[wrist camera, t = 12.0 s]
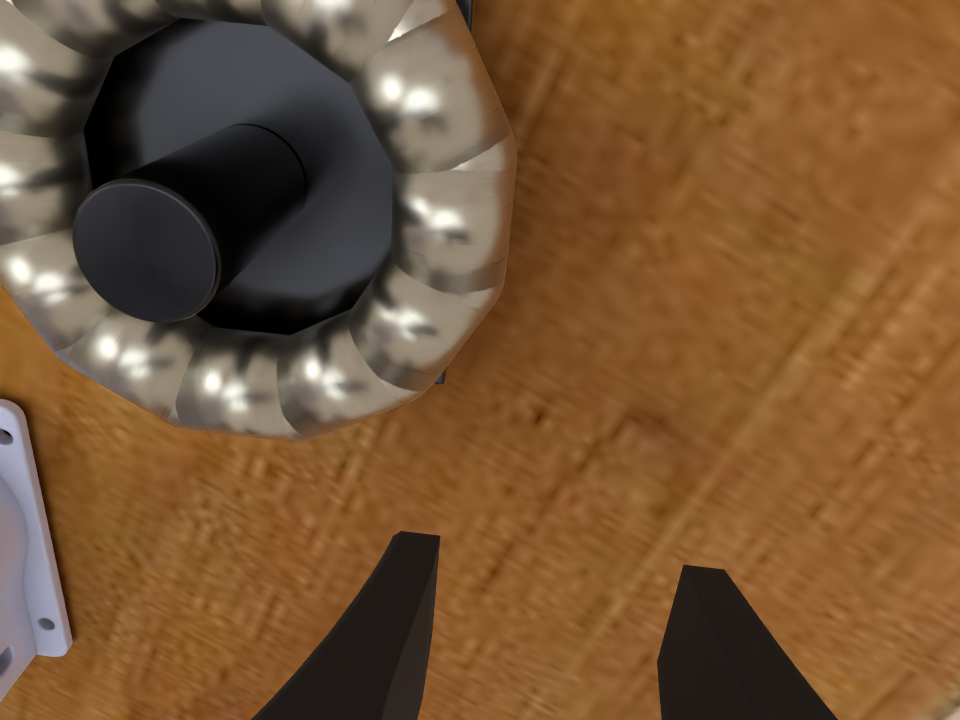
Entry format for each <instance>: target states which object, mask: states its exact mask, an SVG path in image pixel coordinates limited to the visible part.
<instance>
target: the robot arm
mask: <svg viewBox="0 0 960 720" xmlns="http://www.w3.org/2000/svg"><path fill="white" fill-rule="evenodd" d="M4 430H6V431H8V432H9V433H10V434H11V436H12V437H11V436H9V435H7V434H6V433H5V431H4ZM439 546H440V536H438V535H429V534H421V533H413V532H404V531H400V532H399V533H397V534H396V535H394V536H393V538H392V540H391V542H390V544H389V546H388V547H387V549H386V551H385V553H384V554H383V556H382V558H381V560H380V561H379V563H378V565H377V566H376V568H375V569H374V571H373V572H372V574H371V576H370V577H369V578H368V580H367V581H366V583H365V584H364V586H363V587H362V589H361V590H360V592H359V593H358V595H357V596H356V597H355V599H354V600H353V601H352V603H351V604H350V605H349V607H348V608H347V609H346V611H345V612H344V613H343V615H342V616H341V618H340V619H339V620H338V622H337V623H336V624H335V626H334V627H333V628H332V629H331V631H330V632H329V633H328V635H327V636H326V637H325V638H324V639H323V641H322V642H321V643H320V644H319V645H318V647H317V648H316V649H315V650H314V651H313V652H312V654H311V655H310V656H309V657H308V658H307V660H306V661H305V662H304V663H303V664H302V665H301V667H300V668H299V669H298V670H297V671H296V673H295V674H294V675H293V676H292V677H291V678H290V679H289V680H288V681H287V683H286V684H285V685H284V686H283V687H282V688H281V689H280V690H279V691H278V692H277V693H276V694H275V696H274V697H273V698H272V699H271V700H270V701H269V702H268V703H267V704H266V705H265V706H264V707H263V708H262V709H261V710H260V711H259V712H258V713H257V714H256V715H255V716H254V717H253V718H252V719H251V720H417V718H418V714H419V710H420V706H421V702H422V698H423V691H424V685H425V678H426V672H427V665H428V658H429V652H430V645H431V638H432V630H433V618H434V606H435V594H436V582H437V570H438V558H439ZM72 642H73V640H72V635H71V631H70V626H69V621H68V616H67V612H66V607H65V602H64V597H63V593H62V588H61V583H60V578H59V574H58V569H57V564H56V559H55V555H54V550H53V545H52V540H51V536H50V531H49V526H48V521H47V517H46V512H45V507H44V502H43V498H42V493H41V488H40V483H39V479H38V474H37V469H36V464H35V460H34V455H33V450H32V445H31V441H30V436H29V431H28V426H27V421H26V417H25V415H24V412H23V410H22V409H21V408H20V407H19V406H18V405H17V404H15V403H13V402H12V401H8V400H5V399H0V702H1V701H2V699H3V698H4V697H5V695H6V694H7V693H8V692H9V690H10V689H11V688H12V686H13V685H14V684H15V682H16V681H17V680H18V678H19V677H20V676H21V674H22V673H23V672H24V670H25V669H26V668H27V666H28V665H29V664H30V662H31V661H32V660H33V658H34V657H35V656H36V655H42V656H50V657H61V656H63V655H65V654H66V653H67V651H68V650H69V648H70V647H71V646H72ZM657 666H658V679H659V693H660V705H661V716H662V720H838V719H837V718H836V717H835V716H834V714H833V713H832V712H831V711H830V709H829V708H828V707H827V706H826V705H825V703H824V702H823V701H822V700H821V698H820V697H819V696H818V695H817V693H816V692H815V691H814V690H813V688H812V687H811V686H810V684H809V683H808V682H807V681H806V679H805V678H804V677H803V675H802V674H801V673H800V672H799V670H798V669H797V668H796V667H795V665H794V664H793V663H792V661H791V660H790V659H789V657H788V656H787V655H786V654H785V652H784V651H783V650H782V648H781V647H780V646H779V644H778V643H777V641H776V640H775V639H774V637H773V636H772V635H771V633H770V632H769V631H768V629H767V628H766V627H765V625H764V624H763V622H762V621H761V620H760V618H759V617H758V615H757V614H756V613H755V611H754V610H753V609H752V607H751V606H750V604H749V603H748V602H747V600H746V599H745V597H744V596H743V595H742V593H741V592H740V590H739V589H738V588H737V586H736V585H735V584H734V582H733V581H732V579H731V578H730V577H729V575H728V574H727V573H726V571H725V570H723V569H715V568H706V567H698V566H690V565H683V569H682V572H681V576H680V580H679V583H678V587H677V591H676V594H675V598H674V602H673V605H672V609H671V613H670V616H669V620H668V624H667V627H666V631H665V635H664V638H663V642H662V646H661V649H660V653H659V657H658V660H657Z"/></svg>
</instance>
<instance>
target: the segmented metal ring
mask: <svg viewBox="0 0 960 720" xmlns="http://www.w3.org/2000/svg"><path fill="white" fill-rule="evenodd" d="M180 18H189V19H200V20H210V21H221V22H231V23H241V24H252V25H262V26H269V27H271V28H272V29H274V30H275V31H276V32H278V33H279V34H281V35H282V36H283V37H285V38H286V39H288V40H289V41H290V42H292V43H293V44H295V45H296V46H297V47H299V48H300V49H302V50H303V51H304V52H306V53H307V54H309V55H310V56H311V57H313V58H314V59H316V60H317V61H318V62H320V63H321V64H323V65H324V66H325V67H327V68H328V69H330V70H331V71H332V72H334V73H335V74H337V75H338V76H339V77H341V78H342V79H344V80H345V81H346V82H348V83H349V84H350V86H351V88H352V90H353V91H354V93H355V95H356V97H357V99H358V101H359V103H360V105H361V107H362V109H363V111H364V113H365V115H366V117H367V119H368V121H369V123H370V125H371V127H372V129H373V131H374V133H375V135H376V137H377V139H378V141H379V142H380V144H381V146H382V148H383V150H384V152H385V154H386V156H387V158H388V160H389V162H390V164H391V166H392V168H393V198H392V229H391V252H390V253H389V255H388V256H387V258H386V259H385V261H384V262H383V264H382V265H381V267H380V268H379V270H378V271H377V273H376V274H375V276H374V277H373V279H372V280H371V282H370V283H369V285H368V286H367V288H366V289H365V290H364V292H363V293H362V295H361V296H360V298H359V299H358V301H357V302H356V304H355V305H354V307H353V308H352V309H350V310H348V311H346V312H343V313H341V314H339V315H336V316H334V317H332V318H329V319H327V320H325V321H322V322H320V323H318V324H315V325H313V326H311V327H308V328H306V329H304V330H301V331H299V332H297V333H294V334H292V335H283V334H273V333H264V332H255V331H245V330H236V329H227V328H218V327H215V326H213V325H212V324H210V323H208V322H207V321H205V320H204V319H202V318H200V317H199V316H197V315H193V316H191V317H189V318H187V319H184V320H180V321H176V322H166V323H158V322H149V321H144V320H140V319H137V318H134V317H131V316H129V315H126V314H125V313H123V312H121V311H119V310H117V309H116V308H114V307H113V306H111V305H110V304H108V303H107V302H106V301H105V300H104V299H103V298H101V297H100V296H99V295H98V294H97V293H96V292H95V290H94V289H93V288H92V287H91V285H90V284H89V283H88V281H87V280H86V278H85V277H84V275H83V273H82V271H81V269H80V267H79V265H78V262H77V260H76V257H75V253H74V248H73V240H72V234H73V225H74V220H75V217H76V214H77V211H78V209H79V207H80V206H81V204H82V202H83V201H84V200H85V198H86V197H87V196H88V195H89V194H90V193H91V192H92V191H93V186H92V180H91V173H90V166H89V159H88V152H87V146H86V139H85V132H84V127H85V124H86V122H87V120H88V117H89V115H90V113H91V110H92V108H93V106H94V103H95V101H96V99H97V96H98V94H99V92H100V89H101V87H102V85H103V82H104V80H105V78H106V75H107V73H108V71H109V68H110V66H111V64H112V61H113V59H114V56H116V55H118V54H120V53H121V52H123V51H125V50H127V49H128V48H130V47H132V46H133V45H135V44H137V43H139V42H140V41H142V40H144V39H146V38H147V37H149V36H151V35H153V34H154V33H156V32H158V31H159V30H161V29H163V28H165V27H166V26H168V25H170V24H172V23H173V22H175V21H177V20H179V19H180ZM517 159H518V150H517V144H516V140H515V136H514V133H513V131H512V127H511V125H510V123H509V121H508V118H507V116H506V114H505V111H504V109H503V107H502V104H501V102H500V100H499V98H498V95H497V93H496V91H495V88H494V86H493V84H492V82H491V79H490V77H489V75H488V72H487V70H486V68H485V66H484V63H483V61H482V59H481V56H480V54H479V52H478V50H477V47H476V45H475V43H474V40H473V38H472V36H471V33H470V31H469V29H468V27H467V24H466V22H465V20H464V17H463V15H462V13H461V11H460V8H459V7H458V5H457V3H456V1H455V0H0V284H1V285H2V287H3V288H4V289H5V290H6V292H7V293H8V294H9V296H10V297H11V298H12V300H13V301H14V302H15V304H16V305H17V306H18V307H19V309H20V310H21V311H22V313H23V314H24V315H25V317H26V318H27V319H28V320H29V322H30V323H31V324H32V326H33V327H34V328H35V330H36V331H37V332H38V333H39V335H40V336H41V337H42V339H43V340H44V341H45V343H46V344H47V345H48V346H49V348H50V349H51V350H52V352H53V353H54V354H55V355H56V356H57V357H58V358H59V359H60V360H61V361H62V362H64V363H65V364H67V365H68V366H70V367H71V368H73V369H75V370H76V371H78V372H80V373H82V374H83V375H85V376H87V377H89V378H90V379H92V380H94V381H96V382H97V383H99V384H101V385H102V386H104V387H106V388H108V389H109V390H111V391H113V392H115V393H116V394H118V395H120V396H122V397H123V398H125V399H127V400H128V401H130V402H132V403H134V404H135V405H137V406H139V407H141V408H142V409H144V410H146V411H147V412H149V413H151V414H153V415H154V416H156V417H158V418H160V419H161V420H163V421H165V422H166V423H169V424H171V425H173V426H175V427H178V428H182V429H187V430H194V431H203V432H212V433H221V434H230V435H239V436H248V437H257V438H266V439H275V440H284V441H292V442H303V441H308V440H313V439H316V438H319V437H322V436H325V435H327V434H330V433H332V432H335V431H338V430H340V429H343V428H345V427H348V426H351V425H353V424H356V423H359V422H361V421H364V420H366V419H369V418H372V417H374V416H377V415H379V414H382V413H385V412H387V411H390V410H392V409H395V408H398V407H400V406H403V405H405V404H408V403H410V402H412V401H415V400H416V399H418V398H419V397H421V396H422V395H423V394H425V393H426V392H427V391H428V390H429V389H430V388H431V387H432V385H433V384H434V383H435V381H436V380H437V379H438V378H439V376H440V375H441V374H442V372H443V371H444V370H445V368H446V367H447V366H448V365H449V363H450V362H451V361H452V359H453V358H454V357H455V356H456V354H457V353H458V352H459V350H460V349H461V348H462V347H463V345H464V344H465V343H466V341H467V340H468V339H469V337H470V336H471V335H472V334H473V332H474V331H475V330H476V328H477V327H478V326H479V325H480V323H481V322H482V321H483V319H484V318H485V317H486V315H487V314H488V313H489V312H490V310H491V309H492V308H493V307H494V305H495V303H496V302H497V301H498V299H499V297H500V294H501V292H502V289H503V286H504V283H505V277H506V268H507V258H508V248H509V239H510V229H511V220H512V210H513V201H514V191H515V182H516V172H517Z"/></svg>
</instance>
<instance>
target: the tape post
mask: <svg viewBox="0 0 960 720" xmlns="http://www.w3.org/2000/svg"><path fill="white" fill-rule="evenodd" d="M455 1H456V3H457V5H458V7H459V8H460V11H461V13H462V15H463V17H464V20H465V22H466V24H467V27H468V29H469V31H470V33H471V36H472V38H473V40H474V41H475V28H476V16H477V3H478V0H455ZM84 132H85V139H86V146H87V152H88V159H89V166H90V173H91V180H92V186H93V191H92V192H91V193H90V194H89V195H88V196H87V197H86V198H85V200H84V201H83V202H82V204H81V206H80V207H79V209H78V211H77V214H76V217H75V220H74V225H73V234H72V240H73V248H74V253H75V257H76V260H77V262H78V265H79V267H80V269H81V271H82V273H83V275H84V277H85V278H86V280H87V281H88V283H89V284H90V285H91V287H92V288H93V289H94V290H95V292H96V293H97V294H98V295H99V296H100V297H101V298H103V299H104V300H105V301H106V302H107V303H108V304H110V305H111V306H113V307H114V308H116V309H117V310H119V311H121V312H123V313H125V314H126V315H129V316H131V317H134V318H137V319H140V320H144V321H149V322H158V323H166V322H176V321H180V320H184V319H187V318H189V317H191V316H193V315H197V316H199V317H200V318H202V319H204V320H205V321H207V322H208V323H210V324H212V325H213V326H215V327H218V328H227V329H236V330H245V331H255V332H264V333H273V334H283V335H292V334H294V333H297V332H299V331H301V330H304V329H306V328H308V327H311V326H313V325H315V324H318V323H320V322H322V321H325V320H327V319H329V318H332V317H334V316H336V315H339V314H341V313H343V312H346V311H348V310H350V309H352V308H353V307H354V305H355V304H356V302H357V301H358V299H359V298H360V296H361V295H362V293H363V292H364V290H365V289H366V288H367V286H368V285H369V283H370V282H371V280H372V279H373V277H374V276H375V274H376V273H377V271H378V270H379V268H380V267H381V265H382V264H383V262H384V261H385V259H386V258H387V256H388V255H389V253H390V252H391V229H392V198H393V168H392V166H391V164H390V162H389V160H388V158H387V156H386V154H385V152H384V150H383V148H382V146H381V144H380V142H379V141H378V139H377V137H376V135H375V133H374V131H373V129H372V127H371V125H370V123H369V121H368V119H367V117H366V115H365V113H364V111H363V109H362V107H361V105H360V103H359V101H358V99H357V97H356V95H355V93H354V91H353V90H352V88H351V86H350V84H349V83H348V82H346V81H345V80H344V79H342V78H341V77H339V76H338V75H337V74H335V73H334V72H332V71H331V70H330V69H328V68H327V67H325V66H324V65H323V64H321V63H320V62H318V61H317V60H316V59H314V58H313V57H311V56H310V55H309V54H307V53H306V52H304V51H303V50H302V49H300V48H299V47H297V46H296V45H295V44H293V43H292V42H290V41H289V40H288V39H286V38H285V37H283V36H282V35H281V34H279V33H278V32H276V31H275V30H274V29H272V28H271V27H269V26H262V25H252V24H241V23H231V22H221V21H210V20H200V19H189V18H180V19H179V20H177V21H175V22H173V23H172V24H170V25H168V26H166V27H165V28H163V29H161V30H159V31H158V32H156V33H154V34H153V35H151V36H149V37H147V38H146V39H144V40H142V41H140V42H139V43H137V44H135V45H133V46H132V47H130V48H128V49H127V50H125V51H123V52H121V53H120V54H118V55H116V56H114V59H113V61H112V64H111V66H110V68H109V71H108V73H107V75H106V78H105V80H104V82H103V85H102V87H101V89H100V92H99V94H98V96H97V99H96V101H95V103H94V106H93V108H92V110H91V113H90V115H89V117H88V120H87V122H86V124H85V127H84ZM447 368H448V366H447V367H446V368H445V370H444V371H443V372H442V374H441V375H440V376H439V378H438V379H437V380H436V381H435V383H434V384H443V383H444V381H445V376H446V372H447Z"/></svg>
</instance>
